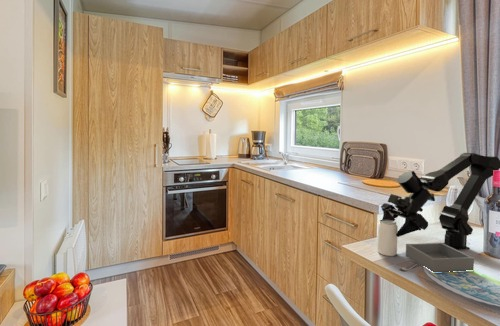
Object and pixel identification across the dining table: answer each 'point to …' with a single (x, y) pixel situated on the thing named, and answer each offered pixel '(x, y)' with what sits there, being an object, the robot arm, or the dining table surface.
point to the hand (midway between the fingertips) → (388, 231)
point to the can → (387, 237)
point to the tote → (439, 257)
